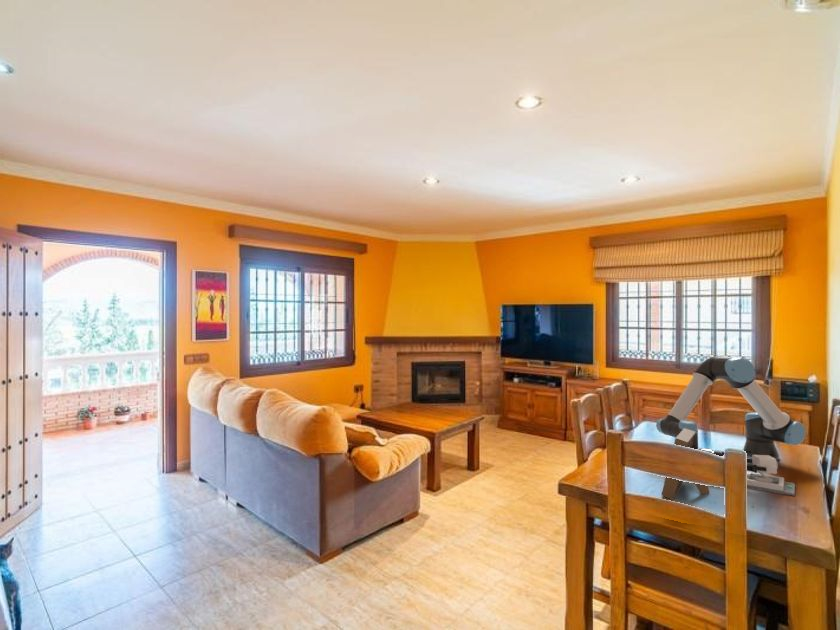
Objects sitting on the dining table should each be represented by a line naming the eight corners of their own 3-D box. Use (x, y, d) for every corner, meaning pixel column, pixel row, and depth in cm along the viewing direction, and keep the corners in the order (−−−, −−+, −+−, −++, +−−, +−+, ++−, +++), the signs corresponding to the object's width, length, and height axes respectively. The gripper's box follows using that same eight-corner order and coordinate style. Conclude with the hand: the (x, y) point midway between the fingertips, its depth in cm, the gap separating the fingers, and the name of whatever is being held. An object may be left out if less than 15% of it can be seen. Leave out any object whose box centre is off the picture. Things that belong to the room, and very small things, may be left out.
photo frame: (661, 497, 178) (659, 436, 178) (671, 482, 194) (669, 426, 195) (704, 506, 168) (702, 441, 169) (710, 489, 185) (709, 431, 186)
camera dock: (737, 476, 200) (737, 469, 200) (794, 485, 187) (794, 478, 187) (734, 485, 189) (733, 478, 189) (794, 496, 176) (794, 488, 176)
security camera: (777, 482, 184) (776, 459, 185) (758, 481, 186) (757, 458, 186) (768, 477, 190) (767, 454, 191) (750, 476, 192) (749, 454, 192)
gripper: (717, 461, 208) (778, 470, 193) (710, 472, 192) (776, 483, 177) (716, 445, 208) (777, 453, 193) (709, 455, 192) (775, 465, 177)
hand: (777, 467), depth 185 cm, fingers closed on security camera, 8 cm apart
